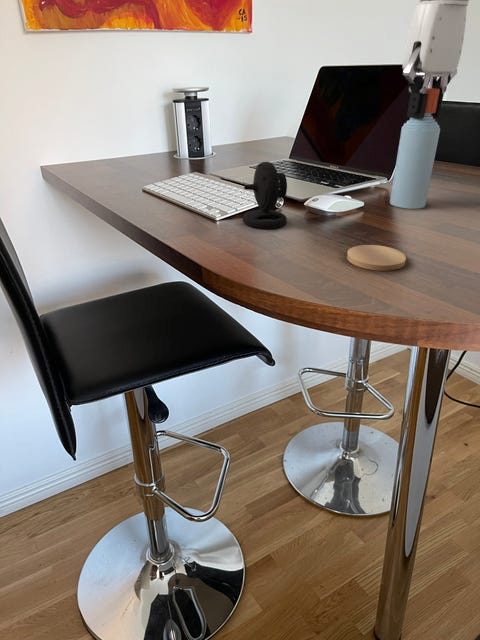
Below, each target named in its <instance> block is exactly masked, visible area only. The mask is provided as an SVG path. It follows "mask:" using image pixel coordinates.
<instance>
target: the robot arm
mask: <svg viewBox="0 0 480 640" xmlns="http://www.w3.org/2000/svg"><path fill="white" fill-rule="evenodd" d="M469 1H470V0H419V3H418V4H417V5H416V7H415V9H414V13H413V15H412V18H411V22H410V26H409V30H408V35H407V38H406V44H405V49H404V54H403V60H402V76H403V77H404V78H405V80H406V81H407V84H408V92H409V93H410V95H409V101H408V107H407V112H406V117H407V118H408V119H410V118H417V119H423V118H424V114H425V109H426V103H427V98H428V94H425V93H426V90H427V88H428V85H429V88H435V89H440V91H439V97H438V102H437V107H436V112H435V113H431V116H433V118H439V117H440V116H441V110H442V105H443V100H444V94H446V92H447V89H448V85H449V84H450V83H451V80H452V79H454V78H455V77H456V76H457V74H458V66H459V64H460V60H461V55H462V50H463V44H464V40H465V39H464V38H465V32H466V31H465V30H466V22H467V9H468V6H469ZM421 78H422V79H421Z"/></svg>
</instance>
